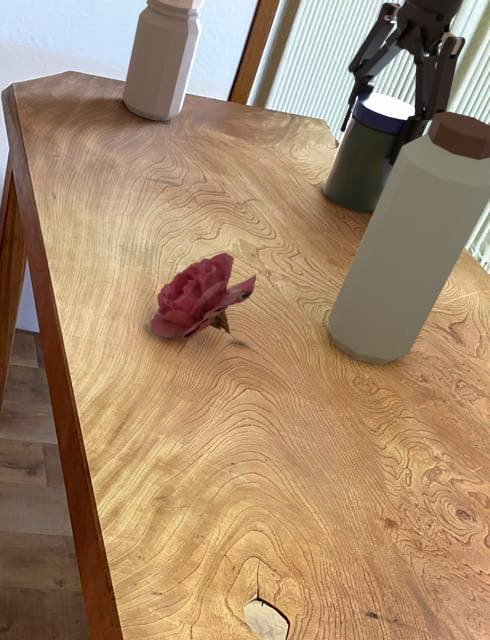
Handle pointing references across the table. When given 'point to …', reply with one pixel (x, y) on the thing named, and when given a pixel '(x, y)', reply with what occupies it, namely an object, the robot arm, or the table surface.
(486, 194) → the water bottle
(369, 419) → the table surface
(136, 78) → the jar
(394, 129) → the lid
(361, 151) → the spice jar
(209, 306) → the flower
